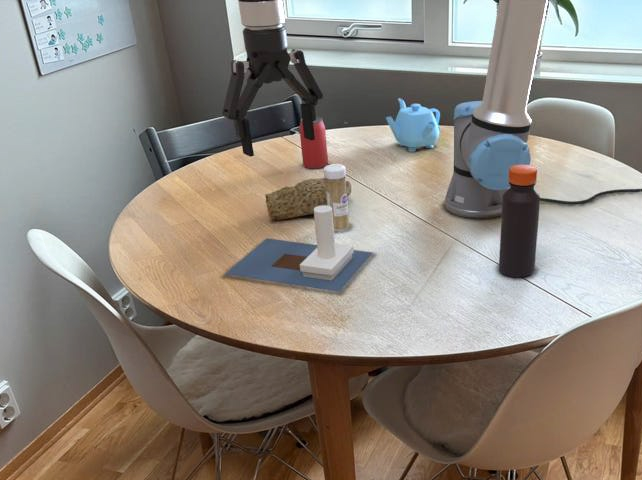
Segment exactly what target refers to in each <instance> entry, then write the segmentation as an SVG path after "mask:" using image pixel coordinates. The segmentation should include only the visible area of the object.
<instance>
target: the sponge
mask: <svg viewBox="0 0 642 480" xmlns="http://www.w3.org/2000/svg"><path fill="white" fill-rule="evenodd" d="M345 181H346V192H347V198H349V196H351V194H352V184H351V182H350V181H349V180H348V181H347V180H346V179H345ZM264 197H265V205H266V208H267V213H268V215H269V217H270V219H272V220H273V221H281V220H288V219H294V218H297V217H302V216H307V215H314V208H315V207H317V206H323V205H326V206H327V198H326V183H325V177H319V178H310V179H305V180H304V179H303V180H302V181H300V182H298V183H296V184H295V185H293V186H284V187H282V188H280V189H277V190H275V191H272V192H270V193H267V194H265V195H264Z"/></svg>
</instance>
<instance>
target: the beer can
mask: <svg viewBox="0 0 642 480" xmlns="http://www.w3.org/2000/svg"><path fill="white" fill-rule="evenodd" d="M313 126H314V135H315V140H312V141H311V140H309V139H306V138H304V132H303V123H302V118H301V119H300V123H299V139H300V149H301V157H302V165H303V166H304V167H305V168H307V169H310V170H311V169H312V170H318V169H322V168H323V169H324V167H325V166H327V165H329V155H328V146H327V145H328V144H327V134H326V127H325V126H326V125H325V124H324V121H323V118H322V117H321V116H317V115H316V120H315V121H313Z"/></svg>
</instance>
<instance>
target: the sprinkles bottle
mask: <svg viewBox="0 0 642 480" xmlns="http://www.w3.org/2000/svg"><path fill="white" fill-rule="evenodd" d="M346 169H347V168H346V166H345V165H343V164H339V163H332V164H327V165H326V166H325V167H323V178H325V183H326V198H327V206H330V207H331V208H332V214H333V226H334V231H342V230H345V229H348V228H349V227H350V221H349V220H350V219H349V203H348V197H347V192H346V181H347V180H346V176H347V171H346ZM345 180H346V181H345Z"/></svg>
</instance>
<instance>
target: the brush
mask: <svg viewBox="0 0 642 480" xmlns="http://www.w3.org/2000/svg"><path fill="white" fill-rule="evenodd" d="M313 217H314V218H313V219H314V227H315V228H314V229H315V237H316V245H317V248H316V249H315V250H314V251H313V252H312V253H311V254H310V255H309V256H308V257H307V258H306V259H305V260H304V261H303V262H302V263H301V264H300V271H302V272H303V277H310V278H317V279H324V280H330V281H332V280H333V279H334V278H335V277H336V276H337V275H338V273H339V272H340V271H341V270H342V269H343V268H344V267H345V266H346V265H347V263H348V262H349V261H350V260H351V259H352V254H353V253H354V250H355V248H354V245H352V244H351V245H350V244H342V243H336V239H335V238H336V237H335V230H334V226H333V214H332V208H331V207H330V206H326V205H323V206H317V207H315V208H314V214H313Z"/></svg>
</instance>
